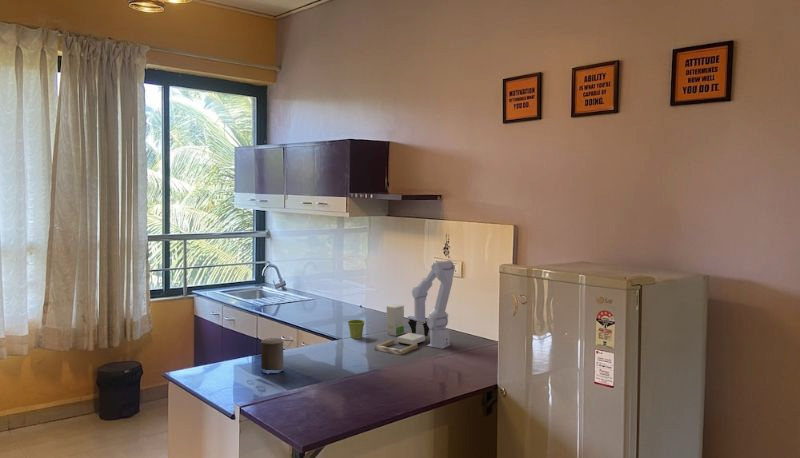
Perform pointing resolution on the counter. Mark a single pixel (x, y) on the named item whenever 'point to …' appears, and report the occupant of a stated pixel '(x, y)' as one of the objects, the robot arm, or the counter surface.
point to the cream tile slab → (411, 338)
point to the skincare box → (395, 320)
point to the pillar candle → (272, 354)
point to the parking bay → (391, 350)
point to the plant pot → (356, 328)
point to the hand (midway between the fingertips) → (420, 335)
